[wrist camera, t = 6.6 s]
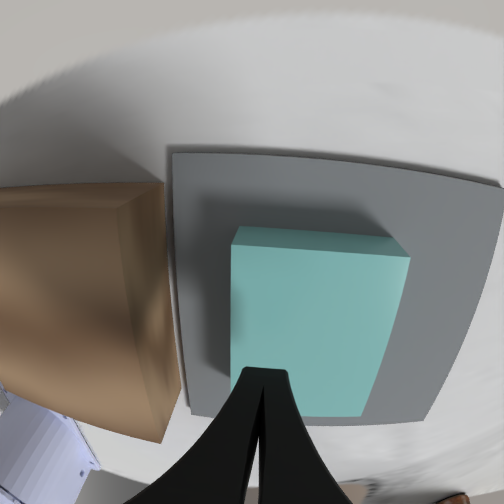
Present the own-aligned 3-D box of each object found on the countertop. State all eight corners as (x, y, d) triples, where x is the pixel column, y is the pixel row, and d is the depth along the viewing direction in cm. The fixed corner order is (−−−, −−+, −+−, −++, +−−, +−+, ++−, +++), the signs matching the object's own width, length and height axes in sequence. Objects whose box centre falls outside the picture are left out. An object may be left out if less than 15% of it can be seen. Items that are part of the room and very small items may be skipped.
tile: (230, 410, 13) (236, 381, 15) (360, 416, 13) (354, 387, 15) (231, 244, 10) (239, 225, 12) (410, 257, 10) (393, 237, 12)
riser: (181, 388, 16) (161, 443, 13) (37, 353, 17) (5, 390, 13) (163, 182, 12) (116, 208, 9) (-5, 188, 13) (-57, 209, 9)
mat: (421, 416, 16) (423, 420, 16) (192, 409, 17) (191, 414, 17) (502, 187, 11) (507, 189, 10) (175, 152, 12) (172, 153, 11)
